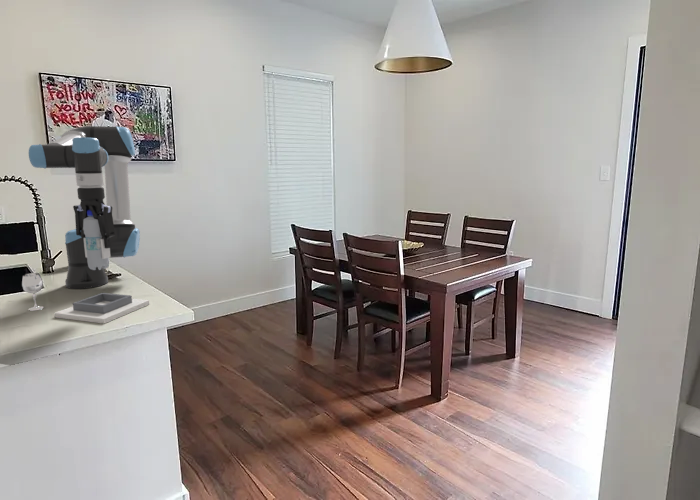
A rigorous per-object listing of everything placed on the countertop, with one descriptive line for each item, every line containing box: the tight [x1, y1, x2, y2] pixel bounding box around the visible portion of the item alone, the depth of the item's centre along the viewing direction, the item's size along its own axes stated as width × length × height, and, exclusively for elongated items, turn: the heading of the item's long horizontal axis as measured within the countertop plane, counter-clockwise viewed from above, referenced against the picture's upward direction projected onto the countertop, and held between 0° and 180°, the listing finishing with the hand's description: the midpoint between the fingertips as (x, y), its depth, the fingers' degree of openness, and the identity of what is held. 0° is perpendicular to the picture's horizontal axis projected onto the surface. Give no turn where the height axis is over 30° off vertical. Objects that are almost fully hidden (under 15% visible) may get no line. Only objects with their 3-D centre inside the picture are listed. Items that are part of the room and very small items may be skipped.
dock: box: [53, 292, 150, 324], centre depth 153 cm, size 20×20×4 cm
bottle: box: [83, 210, 110, 270], centre depth 149 cm, size 7×7×20 cm
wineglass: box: [21, 272, 45, 312], centre depth 154 cm, size 6×6×12 cm
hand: (98, 257), depth 150 cm, fingers closed on bottle, 6 cm apart
